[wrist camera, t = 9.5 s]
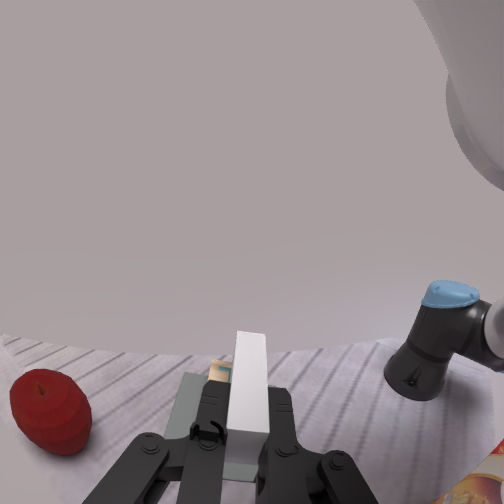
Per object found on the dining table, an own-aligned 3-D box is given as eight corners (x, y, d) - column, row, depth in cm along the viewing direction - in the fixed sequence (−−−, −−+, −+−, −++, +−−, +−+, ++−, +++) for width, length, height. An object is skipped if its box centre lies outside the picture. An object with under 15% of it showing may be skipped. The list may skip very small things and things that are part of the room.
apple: (114, 432, 27) (99, 375, 24) (79, 485, 17) (44, 435, 14) (56, 400, 28) (36, 340, 25) (18, 441, 18) (-17, 381, 15)
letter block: (248, 445, 31) (250, 382, 44) (253, 430, 29) (254, 365, 43) (197, 438, 30) (210, 376, 44) (198, 422, 29) (212, 359, 43)
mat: (275, 387, 44) (275, 385, 44) (281, 483, 25) (282, 482, 25) (184, 373, 44) (184, 371, 44) (155, 465, 24) (155, 464, 24)
